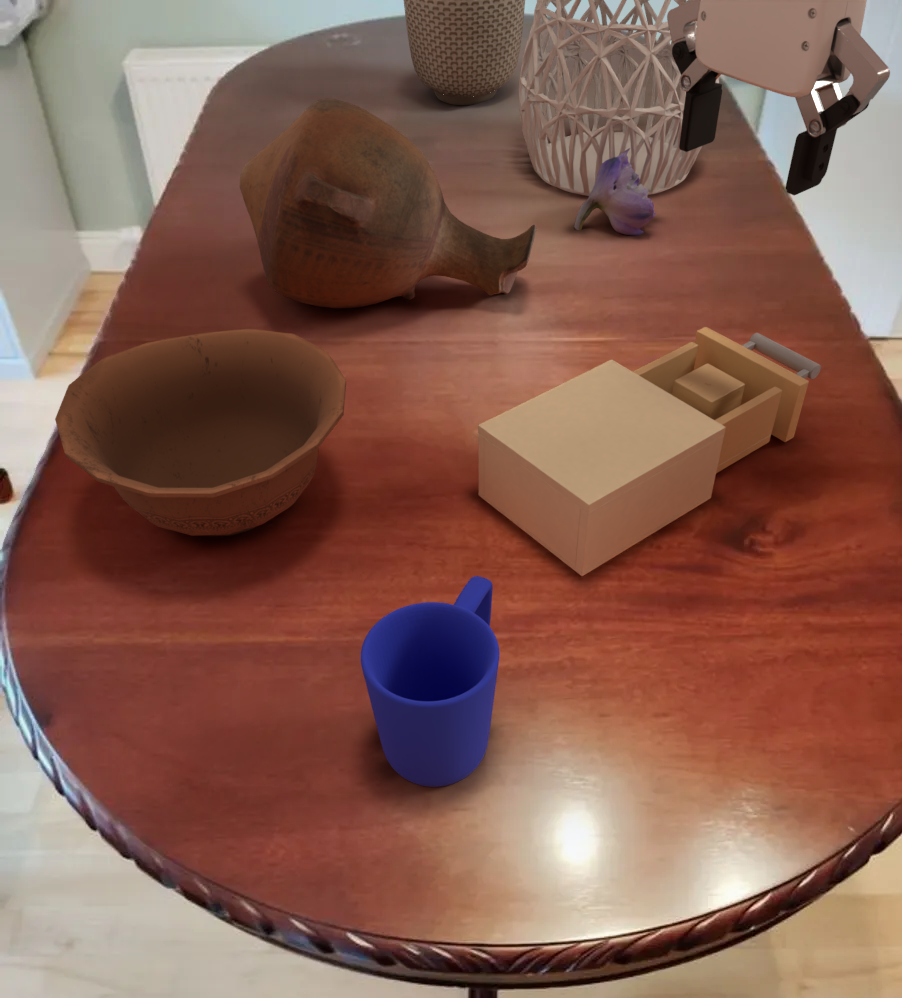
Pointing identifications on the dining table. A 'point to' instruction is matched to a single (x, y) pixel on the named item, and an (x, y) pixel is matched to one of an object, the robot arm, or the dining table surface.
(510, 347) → the dining table surface
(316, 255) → the jug
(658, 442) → the cabinet
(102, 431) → the bowl
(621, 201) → the flower
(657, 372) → the drawer
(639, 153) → the vase
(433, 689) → the mug
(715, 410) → the block
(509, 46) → the planter
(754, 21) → the robot arm
